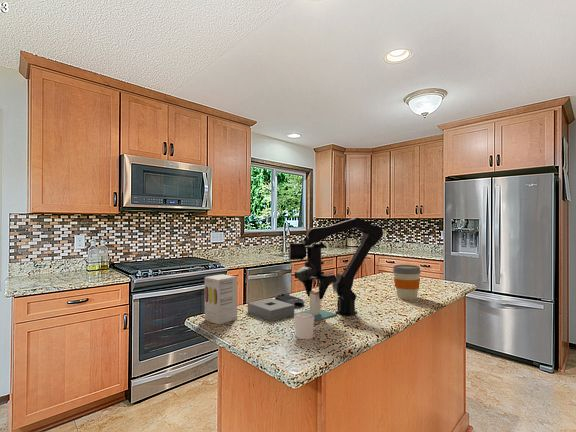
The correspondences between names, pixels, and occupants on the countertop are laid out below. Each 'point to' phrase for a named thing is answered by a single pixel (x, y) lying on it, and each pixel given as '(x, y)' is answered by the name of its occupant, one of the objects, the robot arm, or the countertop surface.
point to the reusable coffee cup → (406, 281)
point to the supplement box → (220, 298)
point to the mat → (321, 315)
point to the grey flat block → (271, 309)
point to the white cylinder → (304, 325)
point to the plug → (315, 302)
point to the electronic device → (290, 299)
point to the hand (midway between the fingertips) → (315, 297)
